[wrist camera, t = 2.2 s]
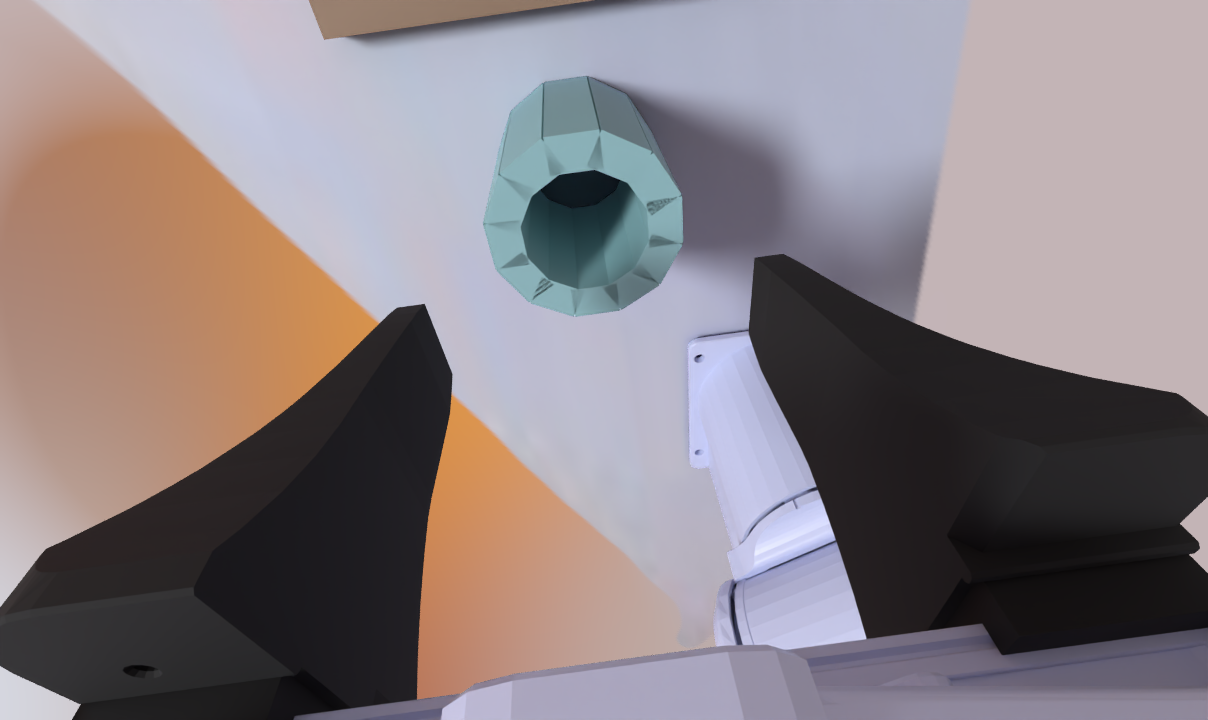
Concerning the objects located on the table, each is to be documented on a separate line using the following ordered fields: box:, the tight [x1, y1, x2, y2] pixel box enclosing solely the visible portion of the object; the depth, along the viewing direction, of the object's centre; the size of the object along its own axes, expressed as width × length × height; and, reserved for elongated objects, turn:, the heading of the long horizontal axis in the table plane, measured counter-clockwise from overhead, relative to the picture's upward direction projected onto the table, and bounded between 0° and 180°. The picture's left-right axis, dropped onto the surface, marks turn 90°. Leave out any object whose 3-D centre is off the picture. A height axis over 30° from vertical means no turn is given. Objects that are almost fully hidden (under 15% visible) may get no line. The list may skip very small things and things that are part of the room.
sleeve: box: [483, 76, 683, 317], centre depth 18 cm, size 6×6×6 cm
